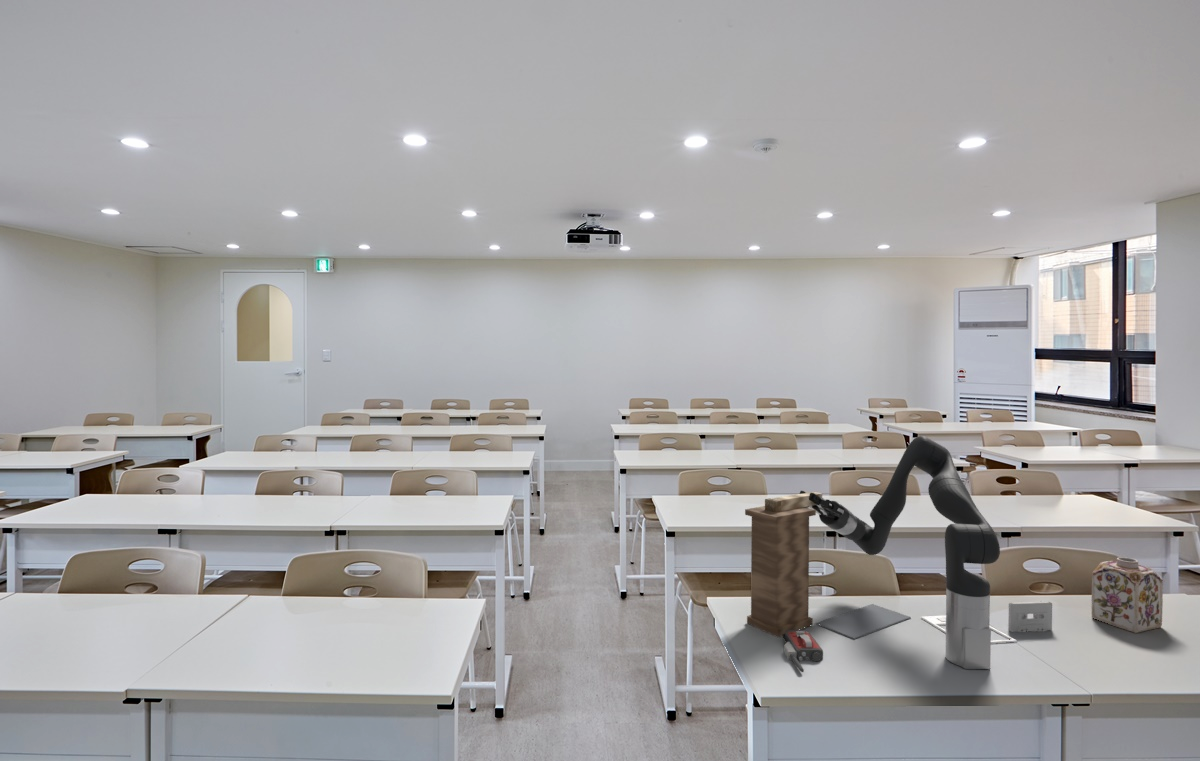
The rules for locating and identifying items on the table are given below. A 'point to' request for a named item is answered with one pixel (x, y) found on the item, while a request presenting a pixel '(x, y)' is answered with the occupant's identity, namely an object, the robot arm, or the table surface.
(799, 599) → the stand
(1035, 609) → the cassette
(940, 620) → the photo frame
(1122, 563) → the decorative jar
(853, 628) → the mat
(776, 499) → the wooden bar
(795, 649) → the walkie-talkie
